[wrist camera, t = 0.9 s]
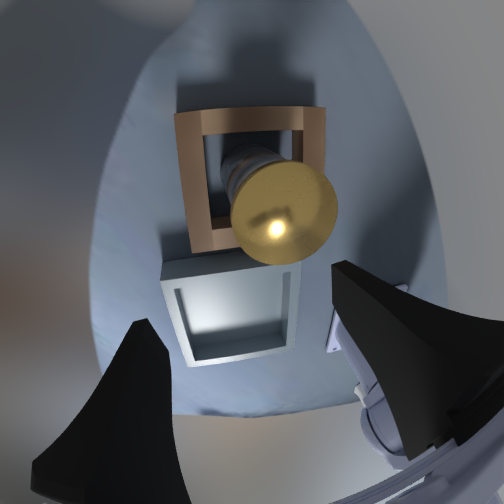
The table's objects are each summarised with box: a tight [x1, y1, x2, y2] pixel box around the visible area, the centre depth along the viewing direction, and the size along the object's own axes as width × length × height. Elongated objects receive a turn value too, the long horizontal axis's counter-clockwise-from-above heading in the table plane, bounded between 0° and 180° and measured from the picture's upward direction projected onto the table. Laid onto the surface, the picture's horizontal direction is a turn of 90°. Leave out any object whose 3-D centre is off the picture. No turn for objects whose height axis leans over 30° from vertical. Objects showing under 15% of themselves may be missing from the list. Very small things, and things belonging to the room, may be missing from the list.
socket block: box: [174, 106, 326, 253], centre depth 17 cm, size 9×9×2 cm
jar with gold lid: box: [220, 143, 338, 265], centre depth 14 cm, size 5×5×8 cm
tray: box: [160, 251, 302, 367], centre depth 22 cm, size 10×10×2 cm
